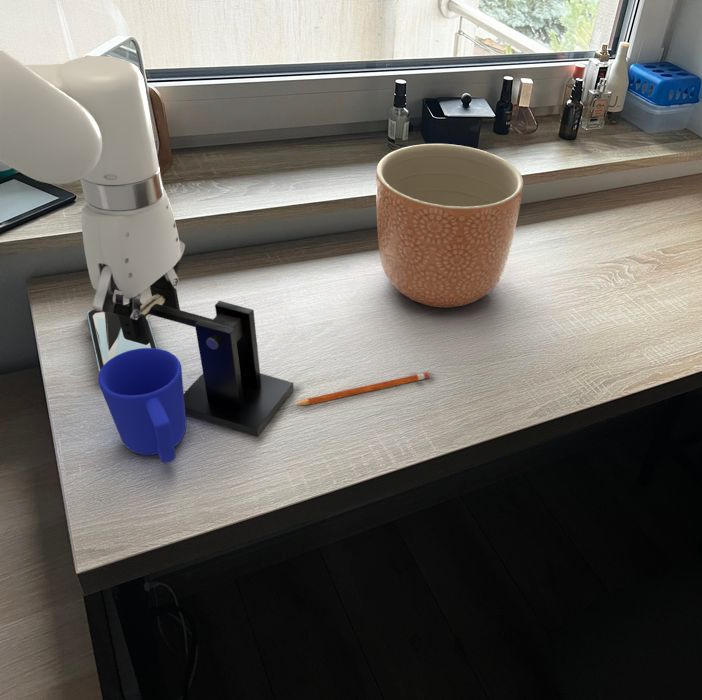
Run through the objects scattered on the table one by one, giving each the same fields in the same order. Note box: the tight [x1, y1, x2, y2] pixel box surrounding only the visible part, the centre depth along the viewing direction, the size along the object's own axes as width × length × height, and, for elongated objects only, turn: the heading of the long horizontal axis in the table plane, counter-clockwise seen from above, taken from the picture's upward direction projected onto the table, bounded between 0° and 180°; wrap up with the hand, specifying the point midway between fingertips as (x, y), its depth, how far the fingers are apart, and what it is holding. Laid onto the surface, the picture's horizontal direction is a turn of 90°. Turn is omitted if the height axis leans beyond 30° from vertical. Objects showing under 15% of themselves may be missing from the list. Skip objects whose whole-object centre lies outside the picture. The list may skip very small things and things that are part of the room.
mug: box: [97, 348, 187, 464], centre depth 79 cm, size 8×12×10 cm
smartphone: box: [86, 301, 159, 373], centre depth 95 cm, size 7×1×15 cm
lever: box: [140, 292, 243, 342], centre depth 83 cm, size 12×5×2 cm, turn 73°
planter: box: [375, 143, 525, 309], centre depth 107 cm, size 21×21×19 cm
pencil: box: [294, 372, 430, 406], centre depth 92 cm, size 1×18×1 cm, turn 115°
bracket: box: [184, 300, 295, 437], centre depth 85 cm, size 11×9×13 cm
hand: (152, 325), depth 85 cm, fingers closed on lever, 5 cm apart
